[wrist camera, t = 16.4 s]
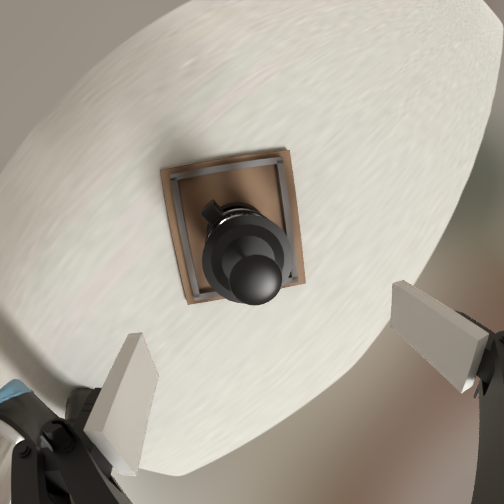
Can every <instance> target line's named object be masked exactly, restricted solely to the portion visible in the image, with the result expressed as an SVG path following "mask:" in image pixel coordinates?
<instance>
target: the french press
mask: <svg viewBox="0 0 504 504" xmlns="http://www.w3.org/2000/svg"><path fill="white" fill-rule="evenodd" d="M200 214H201V216H202V217H203V218H204V219H205V220H206V221H207V222H208V224H207V230H206V235H207V236H206V239H205V245H204V249H203V254H202V268H203V272H204V275H205V278H206V279H207V281H208V283H209V285H210V286H211V287H212V288H213V290H214V291H215V292H217V293H218V294H219V295H220V296H222V297H224V298H226V299H228V300H230V301H233V302H237V303H245V304H248V305H261V304H264V303H267V302H269V301H270V300H272V299H273V298H274V297H275V296H276V295H277V293H278V292H279V290H280V289H281V288H282V287H283V285H284V284H285V282H286V281H287V279H288V277H289V275H290V272H291V269H292V264H293V252H292V247H291V244H290V241H289V239H288V237H287V235H286V234H285V233H284V231H283V230H282V229H281V228H280V227H279V226H278V225H277V224H275V223H274V222H272V221H271V220H269V219H268V218H267V217H265V216H264V215H262V214H261V213H260V212H259V211H258V210H257V209H256V208H255V207H253V206H251V205H249V204H247V203H243V202H231V203H227V204H225V205H223V206H221V207H220V206H219V205H218V204H217V203H216V202H215V200H213V199H212V200H211V201H210V202H209V203H208V204H207V205H205V206H204V208H203V209H202V211H201V213H200Z"/></svg>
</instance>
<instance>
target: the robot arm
mask: <svg viewBox="0 0 504 504" xmlns="http://www.w3.org/2000/svg"><path fill="white" fill-rule="evenodd" d="M390 327H391V328H392V329H393V330H394V331H395V332H396V333H397V334H398V335H400V336H401V337H402V338H403V339H404V340H405V341H406V342H407V343H408V344H409V345H411V346H412V347H413V348H414V349H415V350H416V351H417V352H418V353H419V354H420V355H421V356H422V357H424V358H425V359H426V360H427V361H428V362H429V363H430V364H431V365H432V366H433V367H434V368H435V369H436V370H438V371H439V372H440V373H441V374H442V375H443V376H444V377H445V378H446V379H447V380H448V381H449V382H450V383H451V384H452V385H453V386H454V387H455V388H456V389H457V390H458V391H459V392H460V393H462V392H464V391H465V390H467V389H468V388H469V387H471V386H472V385H473V383H474V380H475V378H476V375H477V376H478V377H479V378H480V381H479V384H478V386H477V389H476V391H475V394H474V398H476V396H477V393H478V392H479V409H480V427H479V449H478V462H477V471H476V478H475V485H474V491H473V497H472V502H471V504H504V331H500V332H498V333H496V334H495V333H494V332H492V331H491V330H489V329H488V328H486V327H485V326H483V325H481V324H480V323H478V322H476V321H475V320H473V319H471V318H470V317H469V316H467V315H466V314H464V313H461V312H458V311H455V310H452V309H450V308H449V307H447V306H446V305H444V304H442V303H441V302H439V301H437V300H436V299H434V298H432V297H431V296H429V295H428V294H426V293H424V292H422V291H421V290H419V289H418V288H416V287H414V286H413V285H411V284H409V283H407V282H406V281H404V280H402V281H399V282H395V283H393V285H392V307H391V321H390ZM158 377H159V375H158V372H157V370H156V367H155V365H154V362H153V360H152V357H151V355H150V352H149V349H148V347H147V344H146V341H145V338H144V335H143V333H142V332H141V333H132V334H128V336H127V338H126V340H125V342H124V344H123V346H122V348H121V350H120V352H119V354H118V356H117V358H116V360H115V362H114V364H113V366H112V368H111V370H110V372H109V374H108V376H107V379H106V381H105V383H104V385H103V387H102V388H95V389H94V390H90V389H84V388H81V389H76V390H74V391H72V392H71V394H70V395H69V397H68V399H67V402H66V412H65V419H63V418H60V417H58V416H57V415H56V414H55V413H54V412H53V411H52V410H51V409H50V408H48V407H47V406H46V405H45V404H44V403H43V402H42V401H41V400H40V399H39V398H38V397H37V396H36V395H35V394H34V392H33V391H32V390H30V389H29V388H28V387H27V386H26V385H25V384H24V383H23V382H22V381H20V380H18V379H13V380H11V381H10V382H8V383H7V384H6V385H5V386H3V387H2V388H1V389H0V504H9V503H10V500H11V504H132V502H131V501H130V500H129V498H128V497H127V496H126V494H125V493H124V492H123V490H122V489H121V487H120V486H119V485H118V483H117V482H116V480H115V479H114V478H113V477H112V476H111V471H112V467H113V468H114V469H115V470H116V471H117V472H118V474H120V475H130V476H137V473H138V468H139V463H140V458H141V452H142V447H143V442H144V438H145V433H146V428H147V424H148V419H149V415H150V410H151V406H152V401H153V397H154V393H155V389H156V385H157V381H158Z"/></svg>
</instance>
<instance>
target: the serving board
mask: <svg viewBox="0 0 504 504" xmlns="http://www.w3.org/2000/svg"><path fill="white" fill-rule="evenodd" d="M161 177H162V184H163V190H164V195H165V201H166V207H167V212H168V217H169V223H170V228H171V233H172V238H173V242H174V247H175V252H176V256H177V261H178V265H179V270H180V274H181V279H182V283H183V287H184V291H185V295H186V299H187V303H188V305H189V304H196V303H202V302H208V301H214V300H220V299H225V298H224V297H222V296H220V295H219V294H218V293H217V292H215V291H214V290H213V288H212V287H211V286H210V285H209V283H208V281H207V279H206V278H205V275H204V272H203V268H202V254H203V249H204V245H205V239H206V236H207V235H206V230H207V224H208V222H207V221H206V220H205V219H204V218H203V217H202V216H201V214H200V213H201V211H202V209H203V208H204V206H205V205H207V204H208V203H209V202H210V201H211V200H212V199H213V200H215V202H216V203H217V204H218V205H219V206H220V207H221V206H223V205H225V204H227V203H231V202H243V203H247V204H249V205H251V206H253V207H255V208H256V209H257V210H258V211H259V212H260V213H261V214H262V215H264V216H265V217H267V218H268V219H269V220H271V221H272V222H274V223H275V224H277V225H278V226H279V227H280V228H281V229H282V230H283V231H284V233H285V234H286V235H287V237H288V239H289V241H290V244H291V247H292V252H293V264H292V269H291V272H290V275H289V277H288V279H287V281H286V282H285V284H284V285H283V287H282V288H285V287H290V286H295V285H300V284H305V283H306V282H305V271H304V261H303V251H302V242H301V233H300V224H299V216H298V208H297V200H296V192H295V185H294V177H293V170H292V164H291V157H290V150H285V151H276V152H267V153H259V154H252V155H244V156H238V157H231V158H225V159H218V160H212V161H207V162H201V163H196V164H190V165H185V166H180V167H175V168H170V169H166V170H161Z"/></svg>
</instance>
